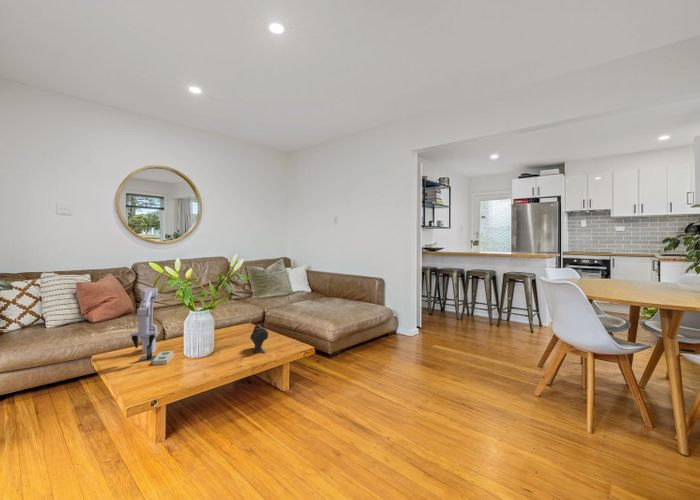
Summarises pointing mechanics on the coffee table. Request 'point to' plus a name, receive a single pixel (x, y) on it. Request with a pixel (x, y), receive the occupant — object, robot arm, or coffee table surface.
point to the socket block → (163, 358)
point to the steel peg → (149, 352)
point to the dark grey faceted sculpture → (259, 338)
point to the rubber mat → (144, 358)
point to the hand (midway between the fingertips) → (143, 347)
